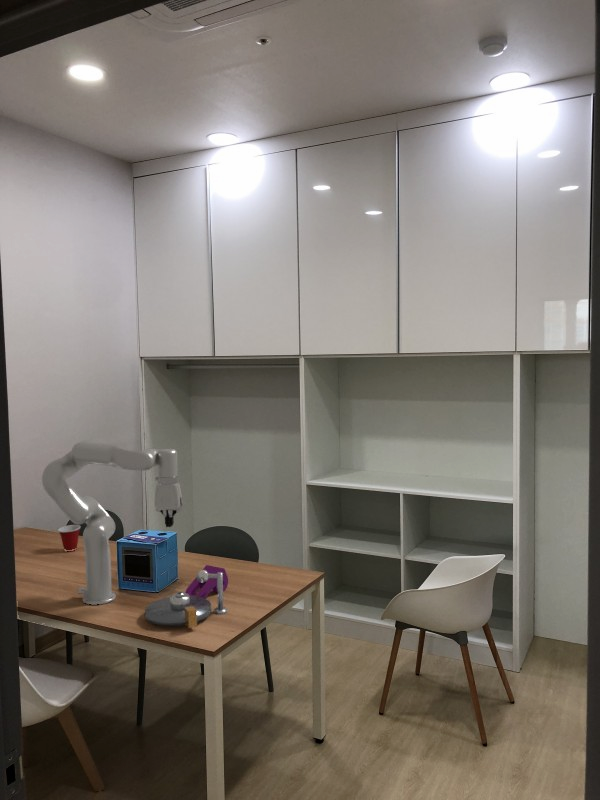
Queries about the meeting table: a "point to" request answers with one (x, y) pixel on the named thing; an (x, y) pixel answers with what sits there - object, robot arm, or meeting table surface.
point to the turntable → (178, 612)
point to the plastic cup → (69, 536)
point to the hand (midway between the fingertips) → (169, 526)
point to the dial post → (203, 577)
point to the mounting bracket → (207, 583)
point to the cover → (179, 601)
